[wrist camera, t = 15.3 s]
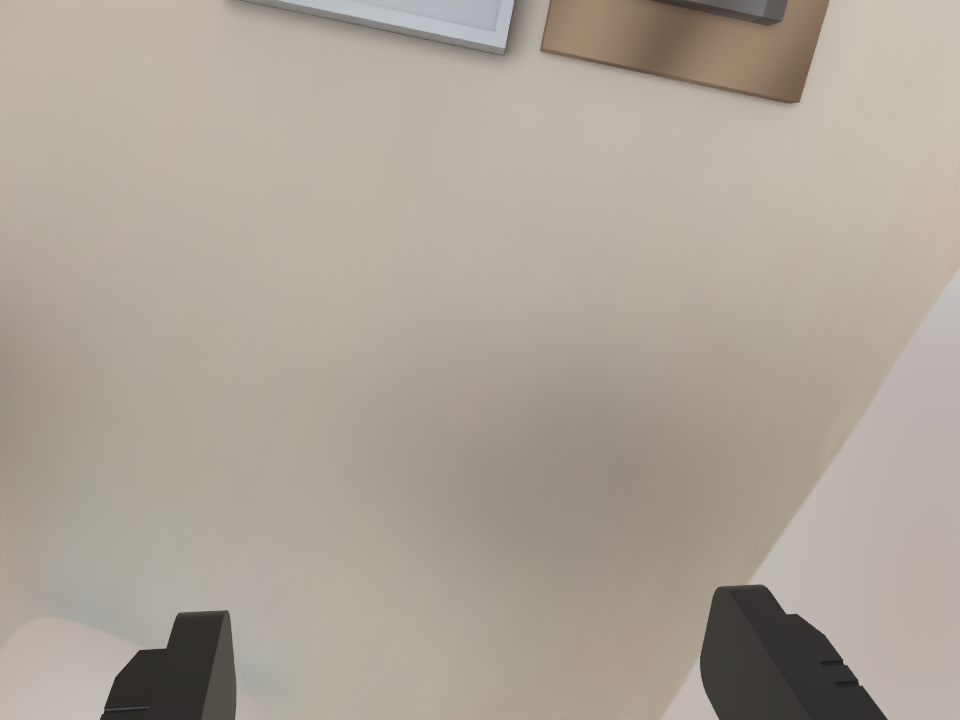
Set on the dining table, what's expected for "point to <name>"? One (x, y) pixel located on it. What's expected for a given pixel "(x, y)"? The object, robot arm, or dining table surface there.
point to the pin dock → (695, 40)
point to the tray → (419, 18)
